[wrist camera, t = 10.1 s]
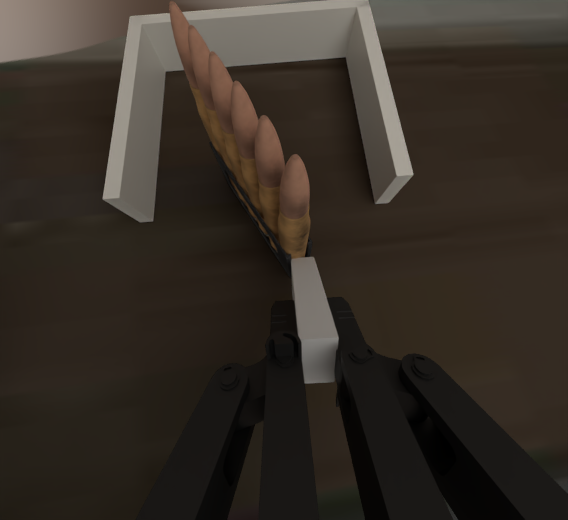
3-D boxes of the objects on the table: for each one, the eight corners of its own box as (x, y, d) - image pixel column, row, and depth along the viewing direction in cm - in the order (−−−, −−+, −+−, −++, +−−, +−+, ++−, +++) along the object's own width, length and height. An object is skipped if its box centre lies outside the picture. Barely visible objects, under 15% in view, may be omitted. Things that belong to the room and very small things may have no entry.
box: (139, 222, 19) (102, 199, 15) (155, 64, 24) (129, 16, 20) (388, 202, 19) (413, 174, 15) (354, 48, 24) (367, -3, 20)
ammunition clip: (227, 183, 20) (140, -2, 8) (244, 174, 20) (182, -20, 9) (290, 278, 17) (285, 195, 6) (308, 266, 18) (341, 163, 6)
